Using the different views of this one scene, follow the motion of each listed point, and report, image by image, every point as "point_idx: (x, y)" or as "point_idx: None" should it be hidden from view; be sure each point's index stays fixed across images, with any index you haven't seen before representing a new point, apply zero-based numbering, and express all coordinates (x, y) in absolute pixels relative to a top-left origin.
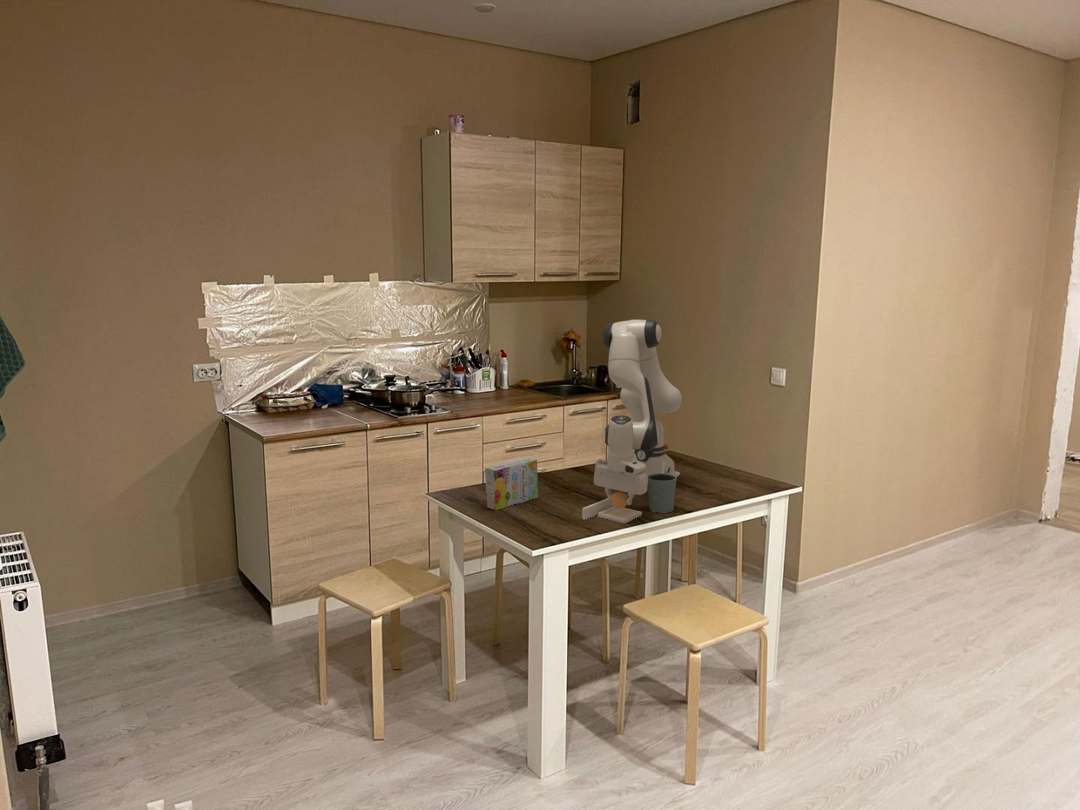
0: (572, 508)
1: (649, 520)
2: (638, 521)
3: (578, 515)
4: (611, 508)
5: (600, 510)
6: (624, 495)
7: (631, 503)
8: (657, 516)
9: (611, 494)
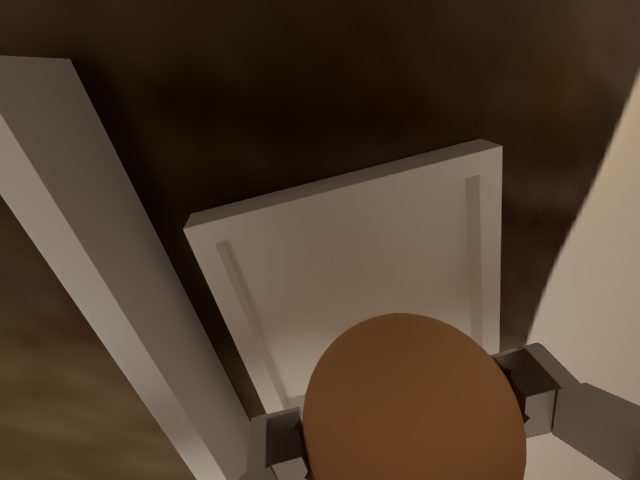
0: (7, 443)
1: (592, 172)
2: (532, 254)
3: (177, 467)
4: (239, 308)
5: (216, 380)
6: (522, 476)
7: (538, 343)
8: (609, 20)
9: (271, 476)
